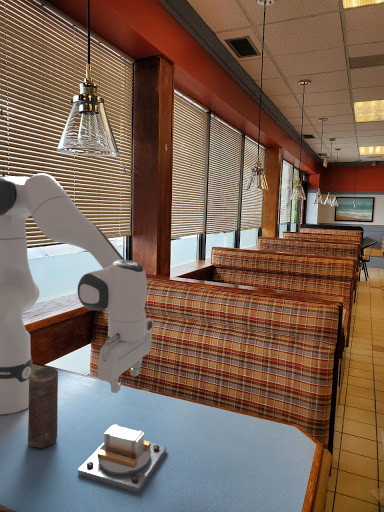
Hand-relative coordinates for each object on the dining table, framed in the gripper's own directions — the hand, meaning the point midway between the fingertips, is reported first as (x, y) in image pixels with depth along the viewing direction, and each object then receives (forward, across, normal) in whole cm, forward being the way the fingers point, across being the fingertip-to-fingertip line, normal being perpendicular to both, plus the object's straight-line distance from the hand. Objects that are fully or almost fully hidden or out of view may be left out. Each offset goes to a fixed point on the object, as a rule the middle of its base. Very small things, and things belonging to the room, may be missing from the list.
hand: (125, 382), depth 93 cm
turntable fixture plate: (+21, 0, 0) cm, 21 cm away
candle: (+21, -1, +24) cm, 32 cm away
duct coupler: (+18, 0, 0) cm, 18 cm away
